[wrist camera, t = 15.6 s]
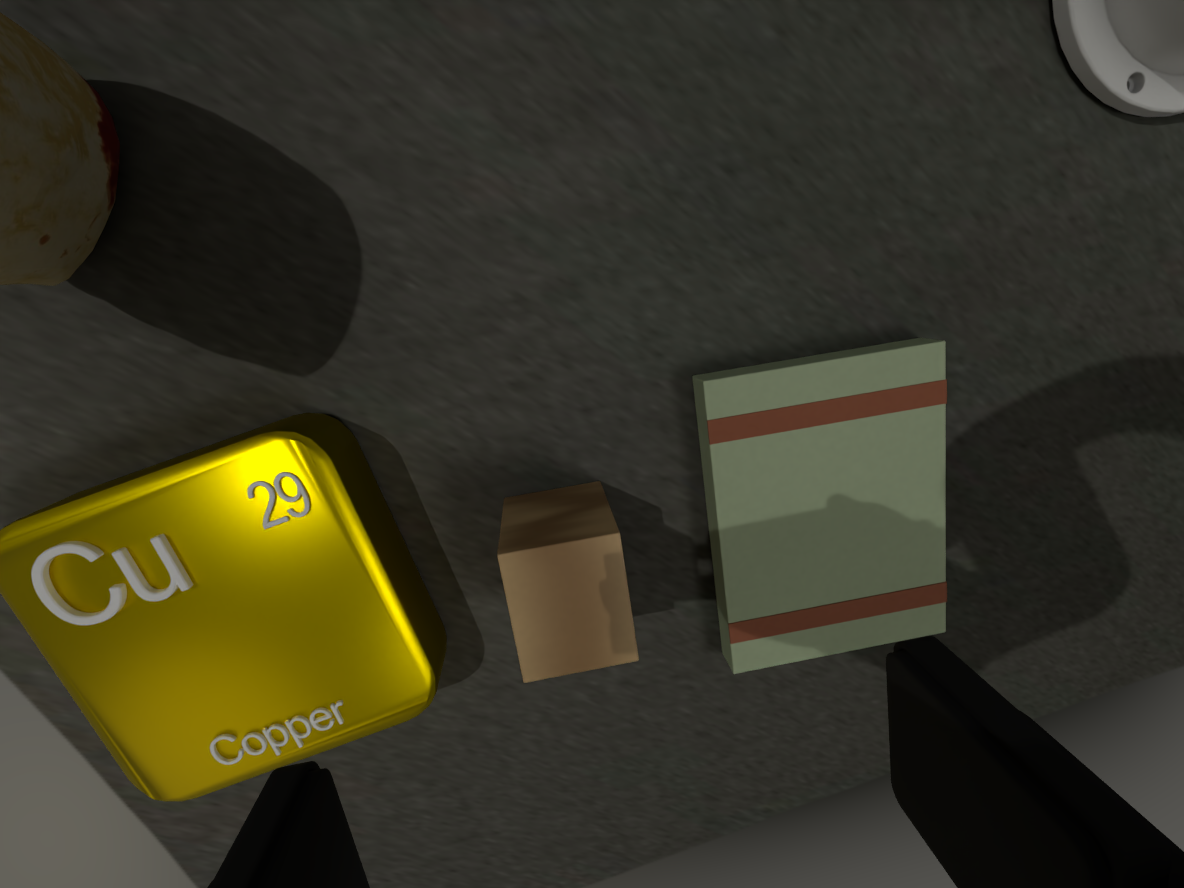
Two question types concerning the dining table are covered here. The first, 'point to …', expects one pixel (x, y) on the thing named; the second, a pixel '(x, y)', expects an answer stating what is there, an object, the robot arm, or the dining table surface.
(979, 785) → the robot arm
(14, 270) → the food model
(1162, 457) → the dining table surface
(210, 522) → the element tile
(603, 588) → the block
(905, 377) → the towel
